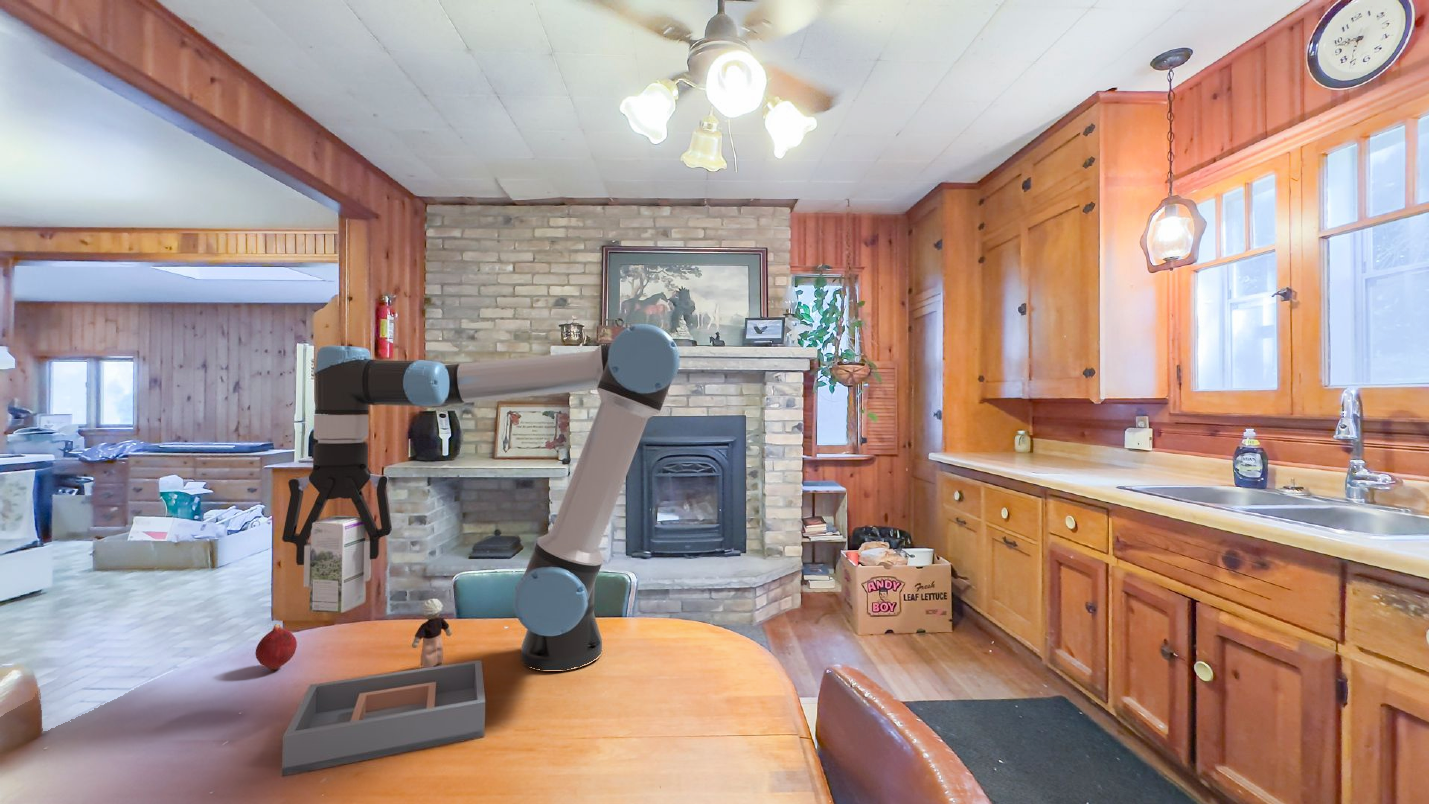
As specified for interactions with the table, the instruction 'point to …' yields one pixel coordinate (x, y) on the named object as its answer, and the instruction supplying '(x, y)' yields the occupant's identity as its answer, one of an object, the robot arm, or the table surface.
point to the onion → (276, 648)
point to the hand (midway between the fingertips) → (338, 581)
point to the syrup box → (337, 564)
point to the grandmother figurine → (431, 635)
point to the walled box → (384, 716)
